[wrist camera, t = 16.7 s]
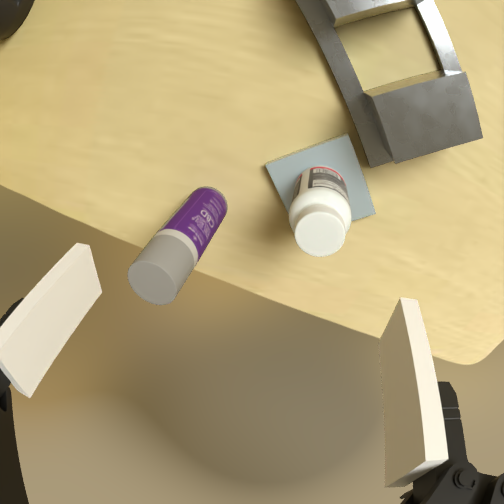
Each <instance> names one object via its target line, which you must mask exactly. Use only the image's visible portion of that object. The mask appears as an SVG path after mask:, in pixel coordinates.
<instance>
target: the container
mask: <svg viewBox="0 0 504 504" xmlns="http://www.w3.org/2000/svg"><path fill="white" fill-rule="evenodd" d="M226 213H227V201H226V199H225V197H224V196H223V194H222V193H221V192H220V191H218V190H217V189H215V188H212V187H200V188H198V189H196V190H195V191H194V192H193V193H192V194H191V195H190V196H189V197H188V198H187V199H186V200H185V201H184V203H183V204H182V205H181V206H180V207H179V208H178V209H177V210H176V211H175V212H174V214H173V215H172V216H171V217H170V218H169V219H168V220H167V221H166V223H165V224H164V225H163V226H162V227H161V228H160V229H159V230H158V232H157V233H156V234H155V235H154V236H153V238H152V239H151V240H150V241H149V243H148V244H147V245H146V247H145V248H144V249H143V251H142V252H141V253H140V254H139V256H138V257H137V258H136V259H135V261H134V262H133V264H132V265H131V266H130V268H129V269H128V281H129V283H130V286H131V287H132V289H133V290H134V291H135V293H136V294H137V295H139V296H140V297H141V298H142V299H144V300H145V301H147V302H150V303H152V304H156V305H166V304H169V303H171V302H172V301H173V300H174V299H175V297H176V296H177V294H178V292H179V291H180V289H181V288H182V286H183V284H184V283H185V281H186V280H187V278H188V276H189V275H190V273H191V272H192V270H193V269H194V267H195V266H196V264H197V262H198V261H199V259H200V257H201V255H202V254H203V252H204V250H205V249H206V247H207V245H208V244H209V242H210V240H211V239H212V237H213V235H214V233H215V232H216V230H217V228H218V227H219V225H220V223H221V222H222V220H223V218H224V217H225V215H226Z"/></svg>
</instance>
